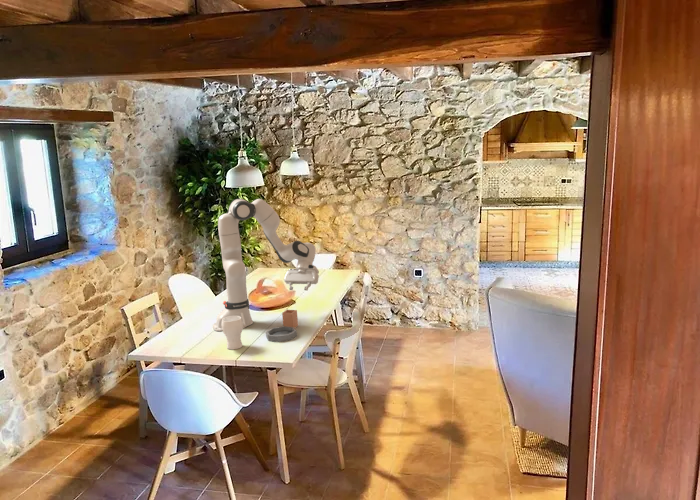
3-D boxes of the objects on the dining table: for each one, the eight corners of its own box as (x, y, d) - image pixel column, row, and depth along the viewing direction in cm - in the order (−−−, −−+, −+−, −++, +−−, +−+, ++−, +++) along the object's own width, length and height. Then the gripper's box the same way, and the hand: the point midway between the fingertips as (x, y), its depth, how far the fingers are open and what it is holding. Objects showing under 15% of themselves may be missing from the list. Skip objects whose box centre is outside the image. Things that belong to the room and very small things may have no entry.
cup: (226, 352, 287) (223, 323, 285) (222, 345, 297) (218, 317, 294) (247, 347, 291) (244, 319, 289) (242, 341, 301) (239, 314, 298)
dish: (270, 343, 295) (269, 338, 295) (264, 334, 309) (264, 329, 309) (299, 338, 300) (298, 333, 299) (292, 329, 314) (291, 324, 313)
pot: (293, 329, 315) (292, 313, 314) (283, 328, 317) (282, 312, 316) (298, 325, 321) (296, 310, 319) (288, 325, 323) (287, 309, 321)
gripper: (285, 266, 335) (279, 286, 328) (317, 266, 328) (312, 287, 321) (289, 271, 340) (284, 292, 333) (321, 271, 333) (316, 292, 326)
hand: (298, 289), depth 327 cm, fingers open, 8 cm apart
